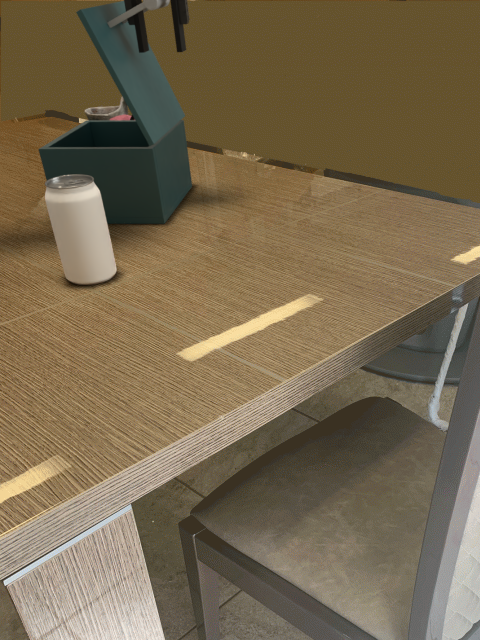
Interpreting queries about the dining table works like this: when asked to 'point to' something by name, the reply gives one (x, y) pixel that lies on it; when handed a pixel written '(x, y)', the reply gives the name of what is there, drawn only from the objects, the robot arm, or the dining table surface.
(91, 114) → the mug
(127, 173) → the cooler
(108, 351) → the dining table surface
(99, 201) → the can
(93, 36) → the cooler lid
